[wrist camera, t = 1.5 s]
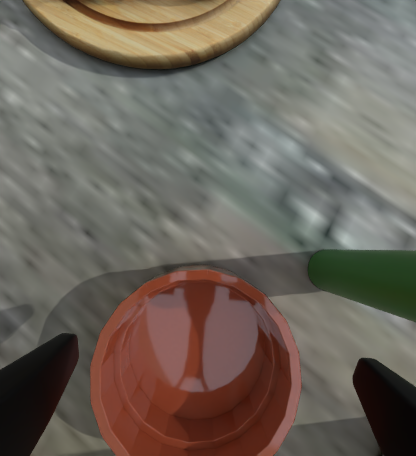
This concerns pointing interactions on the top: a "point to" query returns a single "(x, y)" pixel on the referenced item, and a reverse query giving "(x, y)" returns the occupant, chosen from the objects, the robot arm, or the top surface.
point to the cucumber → (369, 278)
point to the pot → (195, 369)
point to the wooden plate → (153, 28)
